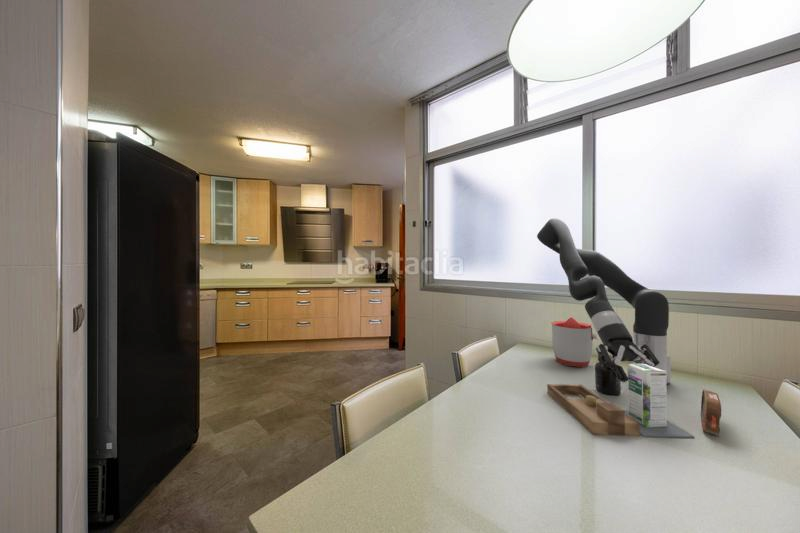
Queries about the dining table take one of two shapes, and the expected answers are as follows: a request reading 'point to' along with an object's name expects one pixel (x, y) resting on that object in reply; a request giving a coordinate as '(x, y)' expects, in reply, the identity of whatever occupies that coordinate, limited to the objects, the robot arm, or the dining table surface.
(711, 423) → the tin
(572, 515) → the dining table surface
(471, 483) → the dining table surface
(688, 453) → the dining table surface
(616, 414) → the body
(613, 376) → the supplement bottle
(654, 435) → the mat
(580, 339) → the citrus juicer
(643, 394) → the syrup box
